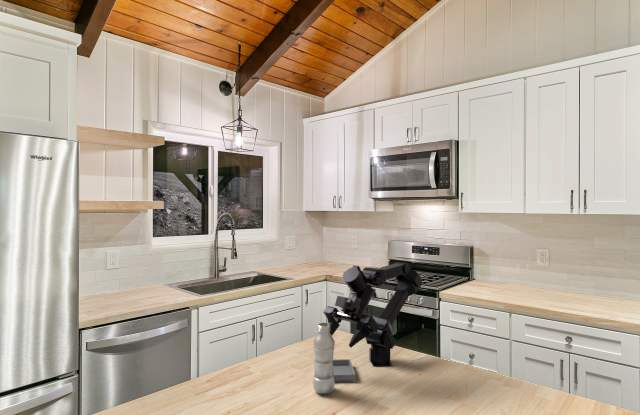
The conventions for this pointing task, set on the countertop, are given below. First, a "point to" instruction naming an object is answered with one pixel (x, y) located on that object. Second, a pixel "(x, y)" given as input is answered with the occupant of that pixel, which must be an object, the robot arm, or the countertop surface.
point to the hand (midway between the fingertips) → (338, 342)
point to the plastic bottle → (323, 360)
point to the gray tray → (343, 371)
